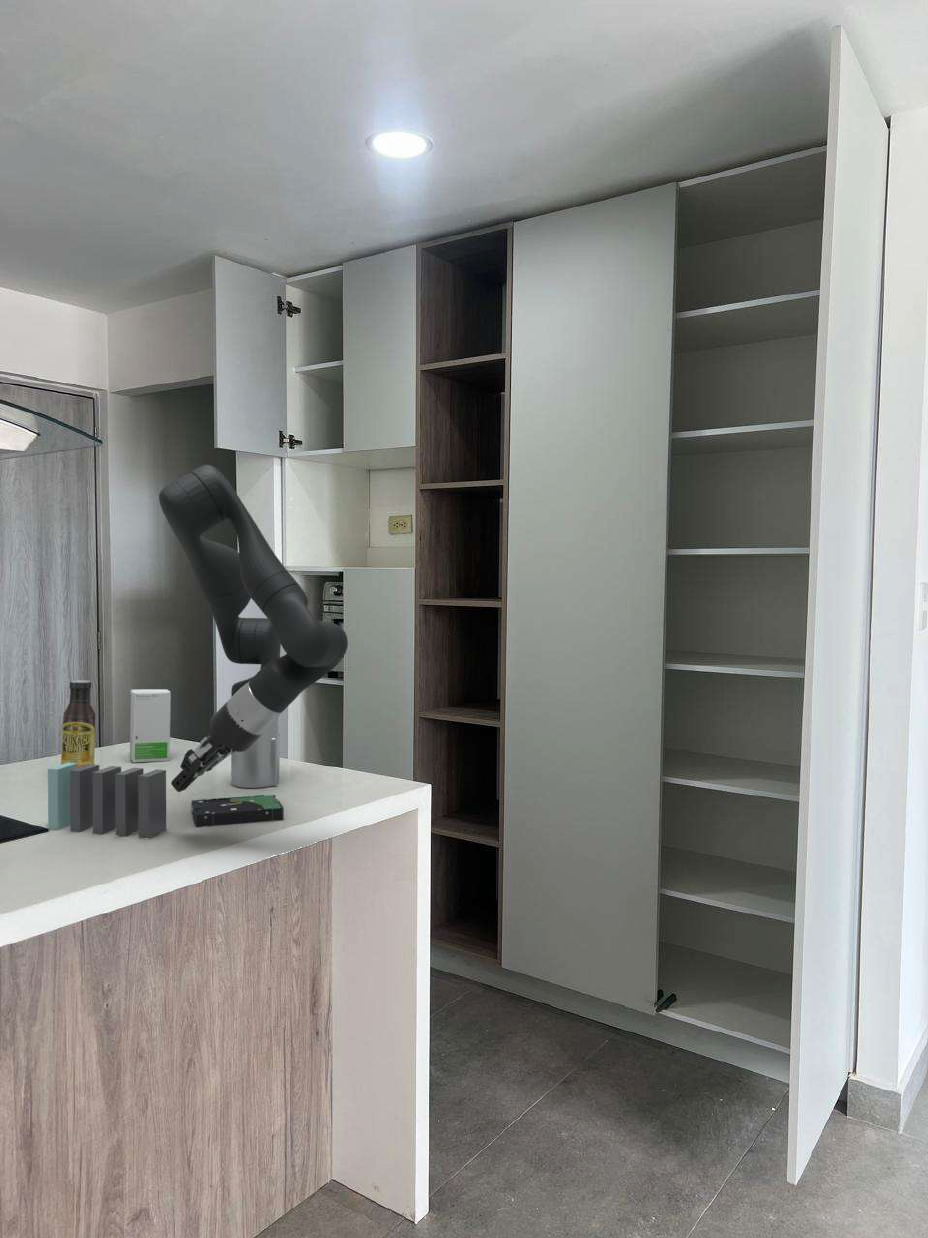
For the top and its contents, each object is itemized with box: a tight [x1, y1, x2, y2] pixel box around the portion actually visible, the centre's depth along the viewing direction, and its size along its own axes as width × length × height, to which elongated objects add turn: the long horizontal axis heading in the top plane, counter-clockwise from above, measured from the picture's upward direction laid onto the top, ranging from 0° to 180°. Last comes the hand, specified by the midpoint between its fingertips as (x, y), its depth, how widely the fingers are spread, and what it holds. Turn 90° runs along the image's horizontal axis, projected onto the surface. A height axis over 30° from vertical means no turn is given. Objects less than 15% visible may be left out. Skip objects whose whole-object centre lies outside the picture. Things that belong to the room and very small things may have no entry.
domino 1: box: [47, 763, 77, 831], centre depth 151 cm, size 2×5×10 cm, turn 166°
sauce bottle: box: [60, 679, 96, 768], centre depth 185 cm, size 7×6×20 cm
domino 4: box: [115, 767, 144, 837], centre depth 148 cm, size 2×5×10 cm, turn 166°
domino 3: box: [92, 765, 122, 835], centre depth 149 cm, size 2×5×10 cm, turn 166°
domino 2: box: [69, 764, 100, 833], centre depth 150 cm, size 2×5×10 cm, turn 166°
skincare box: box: [129, 688, 172, 764], centre depth 204 cm, size 8×7×16 cm
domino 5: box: [138, 768, 167, 839], centre depth 147 cm, size 2×5×10 cm, turn 166°
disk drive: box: [190, 794, 285, 828], centre depth 159 cm, size 10×3×15 cm
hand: (177, 787), depth 146 cm, fingers closed
